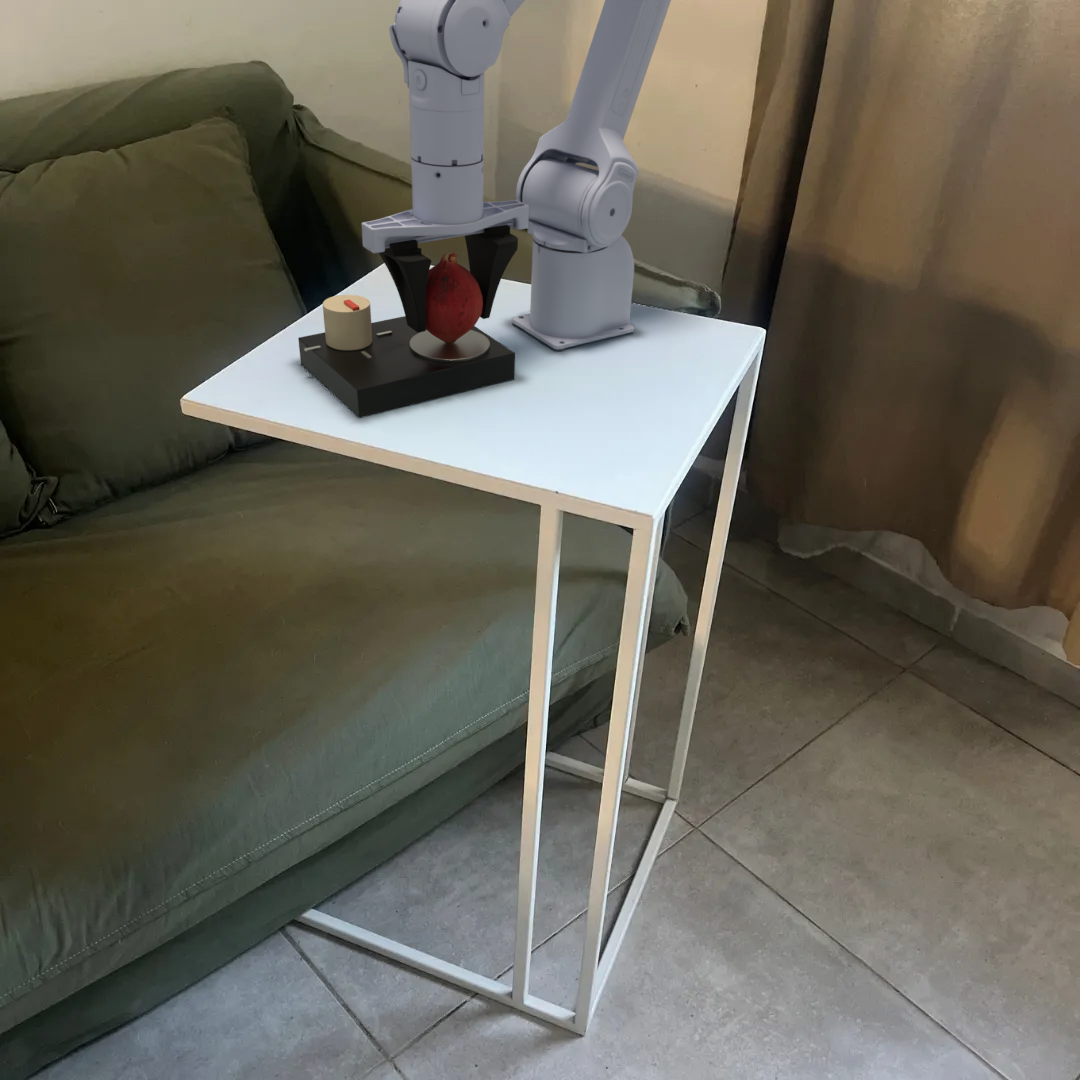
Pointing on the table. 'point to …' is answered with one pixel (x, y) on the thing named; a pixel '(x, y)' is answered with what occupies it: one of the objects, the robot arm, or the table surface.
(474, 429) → the table surface
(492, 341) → the hob
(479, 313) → the onion
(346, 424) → the table surface
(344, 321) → the knob
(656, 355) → the table surface
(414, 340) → the burner
